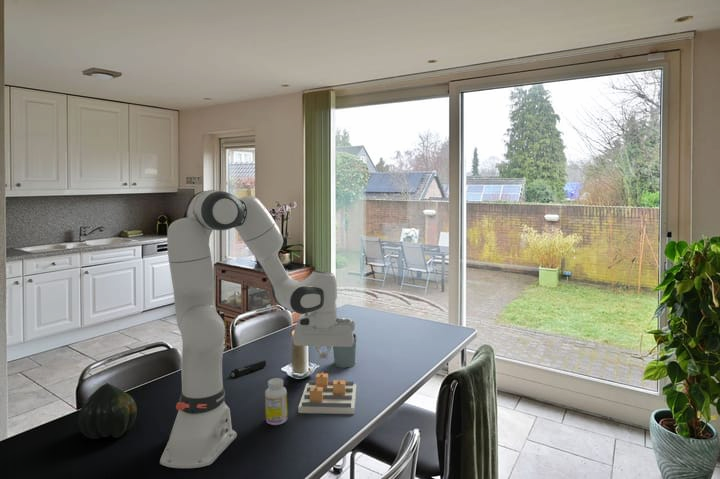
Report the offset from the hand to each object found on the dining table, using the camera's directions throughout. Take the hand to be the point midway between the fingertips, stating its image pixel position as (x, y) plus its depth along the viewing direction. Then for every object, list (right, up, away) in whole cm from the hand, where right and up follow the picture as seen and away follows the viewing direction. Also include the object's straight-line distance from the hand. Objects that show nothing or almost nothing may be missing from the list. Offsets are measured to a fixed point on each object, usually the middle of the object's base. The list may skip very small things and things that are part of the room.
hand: (323, 358), depth 153 cm
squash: (-62, -17, -19) cm, 67 cm away
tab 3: (+5, -13, +1) cm, 14 cm away
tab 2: (-2, -13, -4) cm, 14 cm away
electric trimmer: (-32, -13, +26) cm, 43 cm away
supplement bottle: (-14, -17, -12) cm, 25 cm away
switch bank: (+2, -15, +2) cm, 15 cm away
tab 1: (-1, -12, +7) cm, 14 cm away
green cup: (+6, -12, +34) cm, 37 cm away
